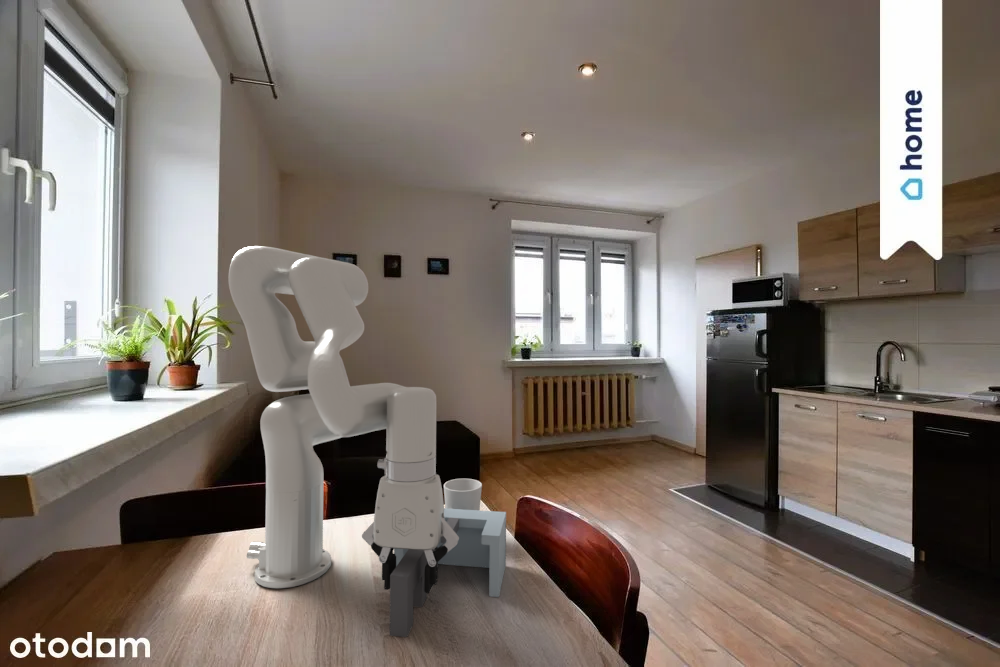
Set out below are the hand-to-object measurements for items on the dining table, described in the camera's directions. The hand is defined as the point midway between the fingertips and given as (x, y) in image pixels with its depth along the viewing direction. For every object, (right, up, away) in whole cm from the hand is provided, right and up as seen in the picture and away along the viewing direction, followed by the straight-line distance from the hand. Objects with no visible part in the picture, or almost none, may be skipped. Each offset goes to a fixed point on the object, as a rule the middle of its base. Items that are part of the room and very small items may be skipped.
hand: (409, 585), depth 67 cm
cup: (+6, -5, +24) cm, 25 cm away
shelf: (+5, -5, +11) cm, 13 cm away
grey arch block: (0, -5, 0) cm, 5 cm away
